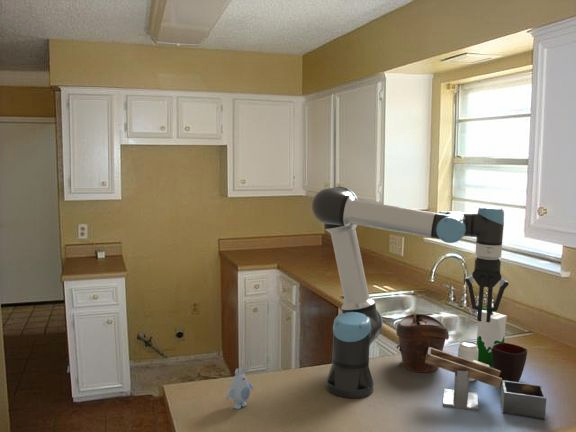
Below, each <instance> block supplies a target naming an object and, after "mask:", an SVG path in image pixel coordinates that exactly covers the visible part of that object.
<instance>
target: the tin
mask: <svg viewBox="0 0 576 432" xmlns="http://www.w3.org/2000/svg"><path fill="white" fill-rule="evenodd" d="M500 391H501V392H500V403H501V410H502V414H503V415H509V416H516V417H523V418H529V419H536V420H543V421H545V420H546V405H547V397H546V394H545V393H546V392H545V390H544V388H543V385H539V384H534V383H527V382H525V383H524V382H520V381H519V382H512V381H504V380H502V385H501V390H500Z"/></svg>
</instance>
